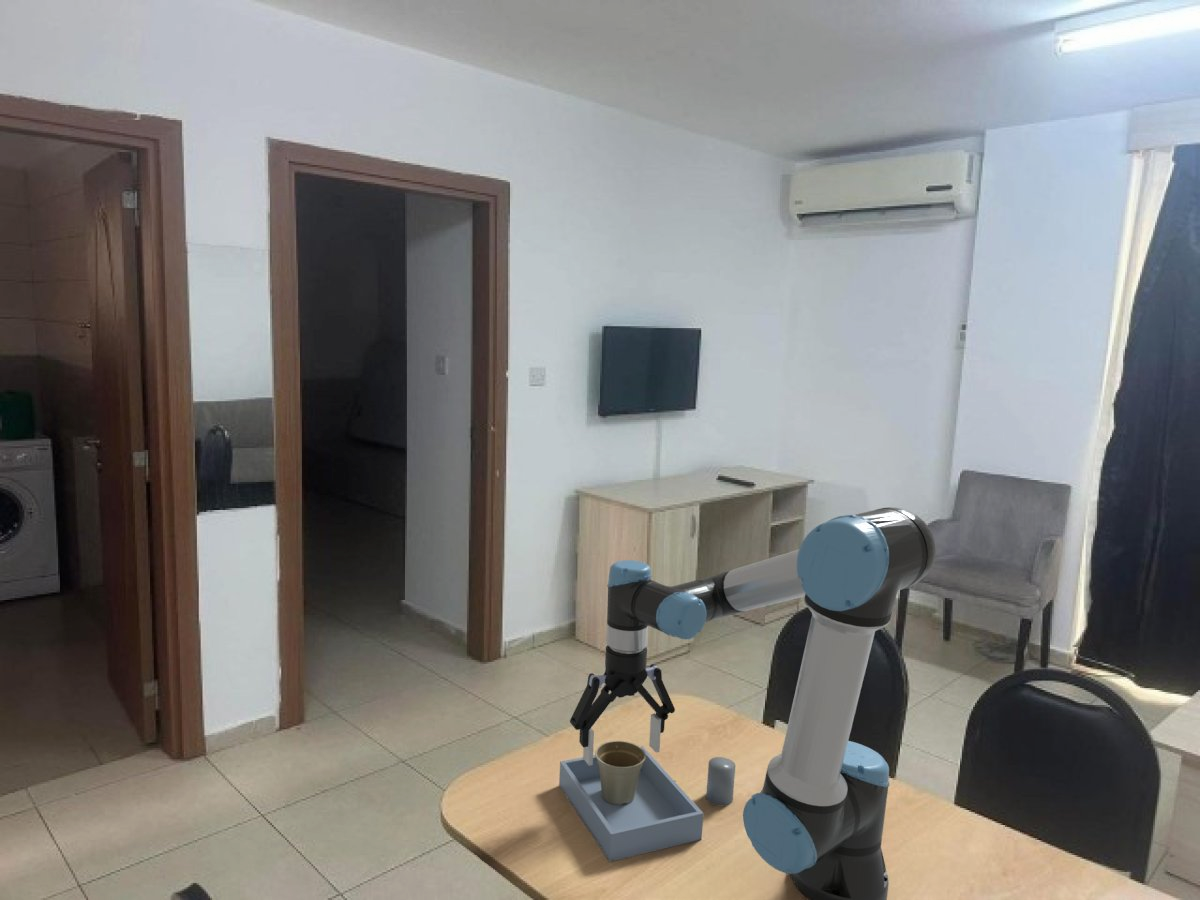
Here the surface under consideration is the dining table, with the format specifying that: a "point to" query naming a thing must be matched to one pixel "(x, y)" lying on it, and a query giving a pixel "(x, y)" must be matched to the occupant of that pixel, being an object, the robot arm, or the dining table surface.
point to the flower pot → (619, 770)
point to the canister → (720, 781)
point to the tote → (632, 810)
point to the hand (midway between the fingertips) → (621, 755)
